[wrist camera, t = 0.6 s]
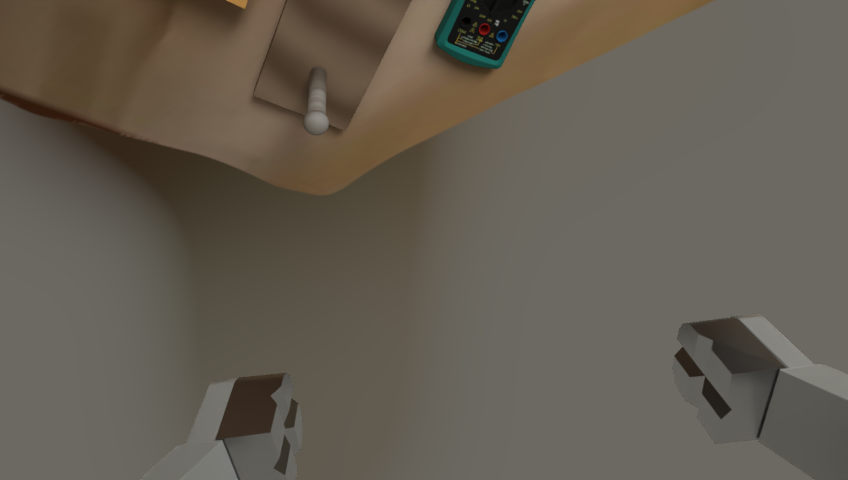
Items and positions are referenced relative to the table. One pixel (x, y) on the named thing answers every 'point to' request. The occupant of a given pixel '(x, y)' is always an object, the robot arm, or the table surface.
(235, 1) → the orange rectangular frame
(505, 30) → the digital multimeter
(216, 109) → the table surface
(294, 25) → the keeper board
